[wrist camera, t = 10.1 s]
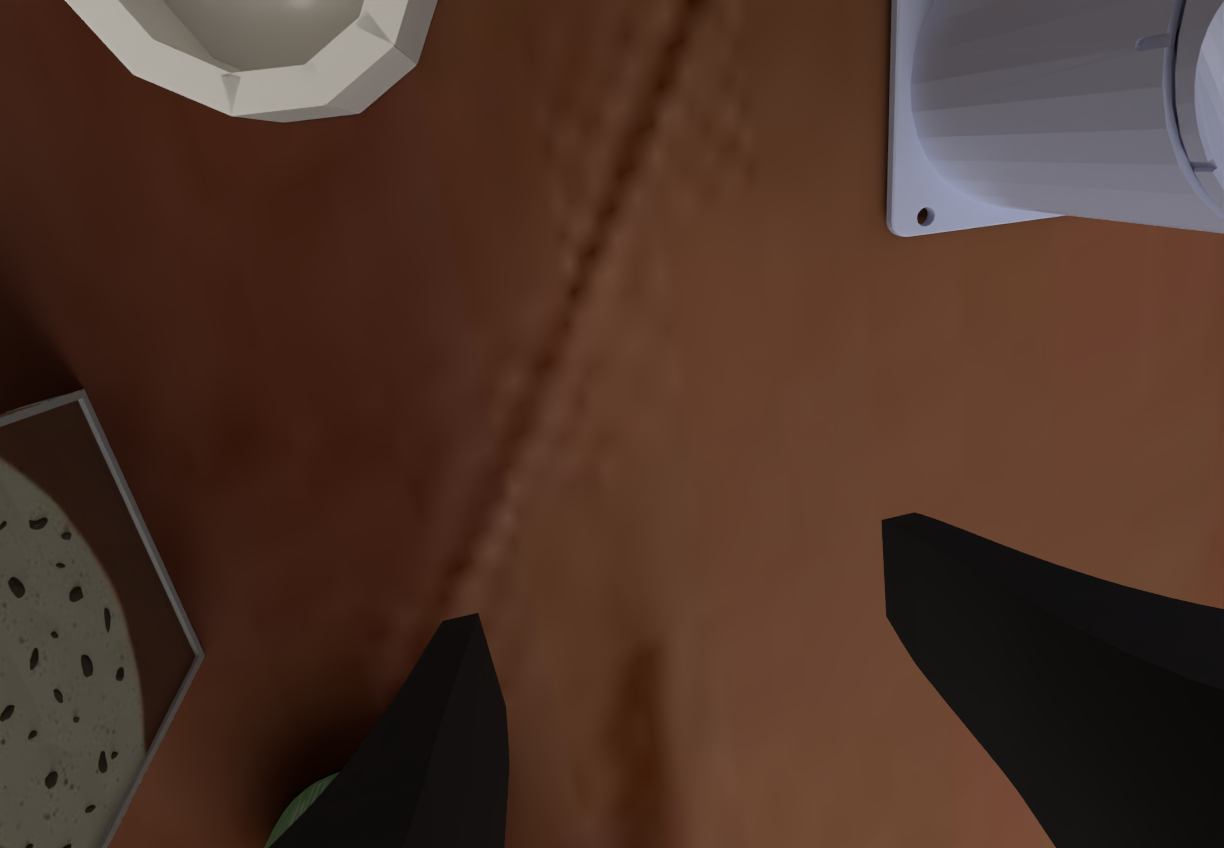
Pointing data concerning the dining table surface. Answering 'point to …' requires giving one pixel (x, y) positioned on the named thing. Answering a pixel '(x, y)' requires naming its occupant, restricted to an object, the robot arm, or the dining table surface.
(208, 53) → the cup
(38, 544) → the food container
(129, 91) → the dining table surface
